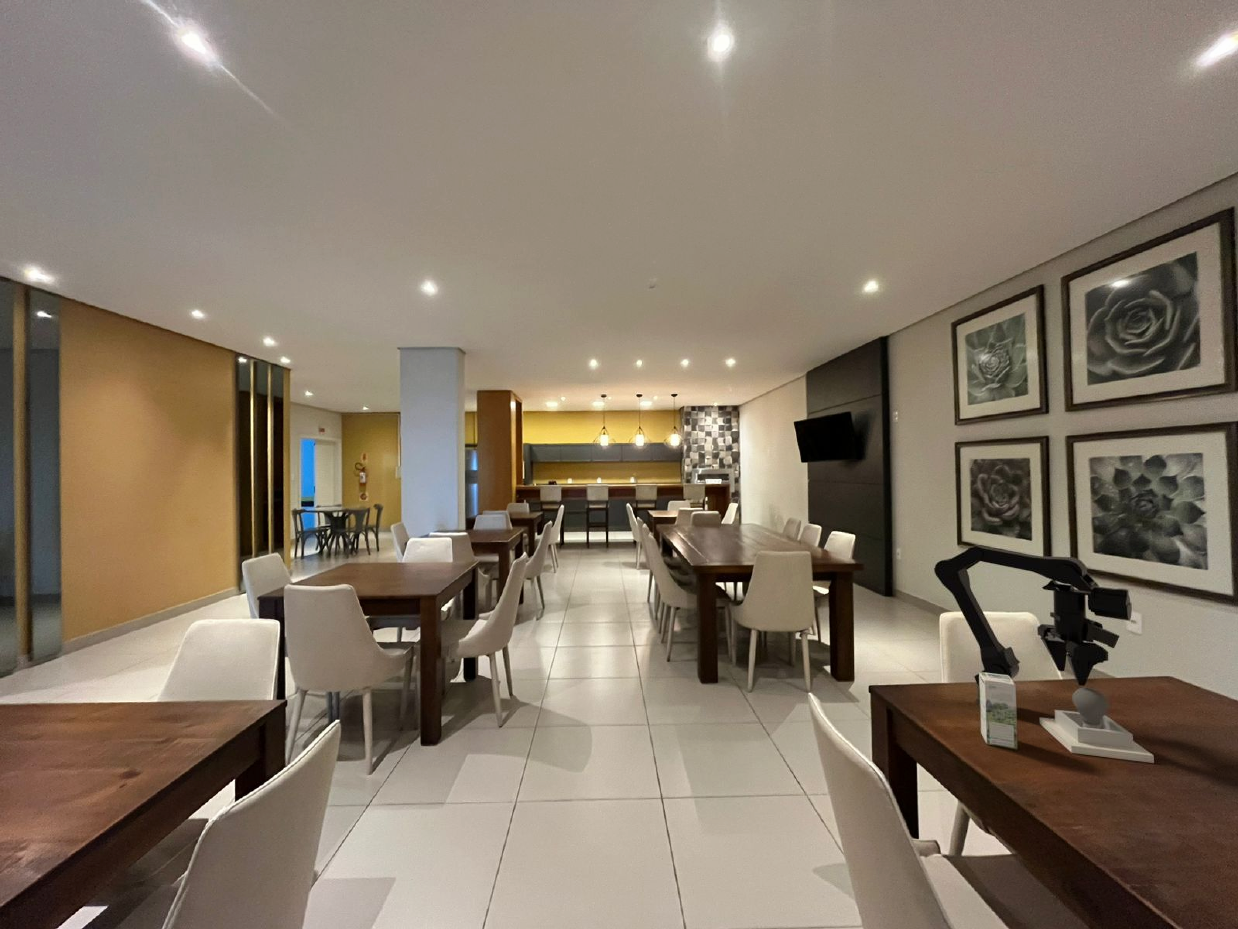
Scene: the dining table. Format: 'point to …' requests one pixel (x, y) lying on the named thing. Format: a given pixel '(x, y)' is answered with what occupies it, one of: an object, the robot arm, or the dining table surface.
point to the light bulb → (1090, 706)
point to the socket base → (1094, 737)
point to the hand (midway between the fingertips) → (1070, 677)
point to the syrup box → (998, 710)
